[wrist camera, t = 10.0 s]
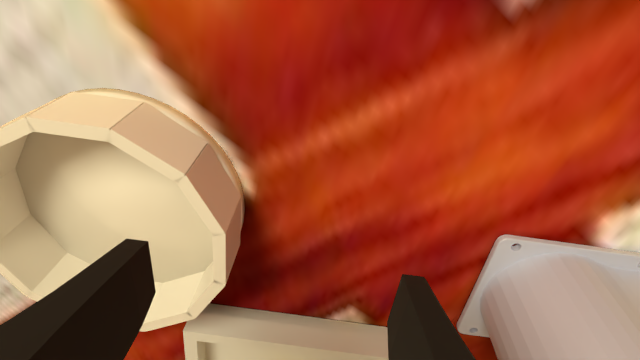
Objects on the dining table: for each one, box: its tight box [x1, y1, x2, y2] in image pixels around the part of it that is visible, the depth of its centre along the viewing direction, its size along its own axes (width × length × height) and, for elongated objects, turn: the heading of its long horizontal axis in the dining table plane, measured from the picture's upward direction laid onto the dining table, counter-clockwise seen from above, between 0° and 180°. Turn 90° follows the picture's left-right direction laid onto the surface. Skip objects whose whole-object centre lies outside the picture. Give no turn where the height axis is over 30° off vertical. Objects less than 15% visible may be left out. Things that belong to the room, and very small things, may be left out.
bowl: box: [0, 88, 245, 332], centre depth 20 cm, size 12×12×4 cm
